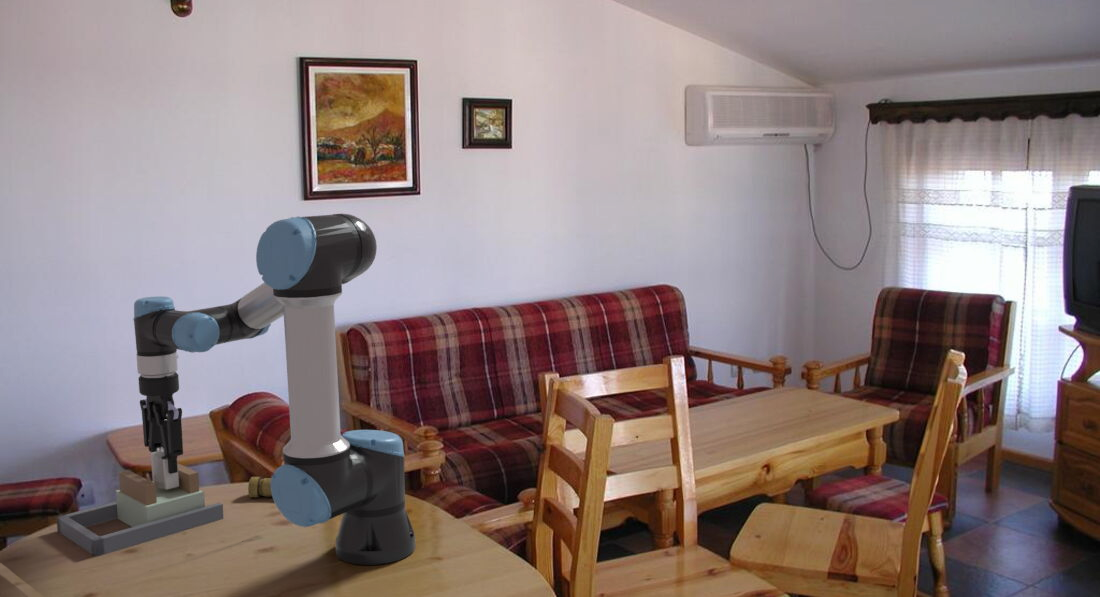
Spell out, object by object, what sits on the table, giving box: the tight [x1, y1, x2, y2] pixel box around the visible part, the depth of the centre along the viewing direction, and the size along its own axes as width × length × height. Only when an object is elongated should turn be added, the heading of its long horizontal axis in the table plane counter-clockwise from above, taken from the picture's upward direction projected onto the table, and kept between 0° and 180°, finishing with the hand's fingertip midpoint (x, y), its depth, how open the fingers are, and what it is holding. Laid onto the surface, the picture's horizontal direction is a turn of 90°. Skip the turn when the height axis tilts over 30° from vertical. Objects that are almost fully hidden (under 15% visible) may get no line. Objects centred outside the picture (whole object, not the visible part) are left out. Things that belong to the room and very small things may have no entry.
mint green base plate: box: [115, 463, 206, 528], centre depth 205 cm, size 14×12×10 cm
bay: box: [56, 501, 225, 558], centre depth 203 cm, size 18×26×4 cm
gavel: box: [247, 476, 272, 498], centre depth 230 cm, size 21×5×10 cm
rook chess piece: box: [154, 447, 165, 489], centre depth 205 cm, size 4×4×8 cm
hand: (165, 484), depth 206 cm, fingers closed on rook chess piece, 4 cm apart
